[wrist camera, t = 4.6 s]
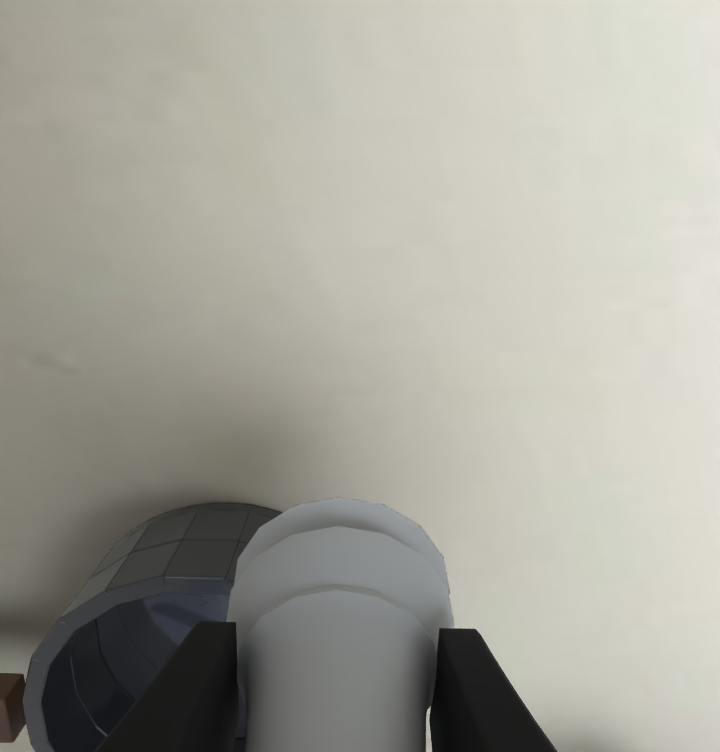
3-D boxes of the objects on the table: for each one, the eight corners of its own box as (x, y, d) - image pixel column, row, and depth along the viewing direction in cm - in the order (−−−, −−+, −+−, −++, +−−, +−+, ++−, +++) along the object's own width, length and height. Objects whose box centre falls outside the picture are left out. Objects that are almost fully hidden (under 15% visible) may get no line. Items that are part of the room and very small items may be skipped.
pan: (371, 739, 22) (374, 851, 18) (105, 734, 21) (50, 845, 18) (384, 506, 18) (391, 581, 15) (70, 498, 18) (-6, 571, 14)
